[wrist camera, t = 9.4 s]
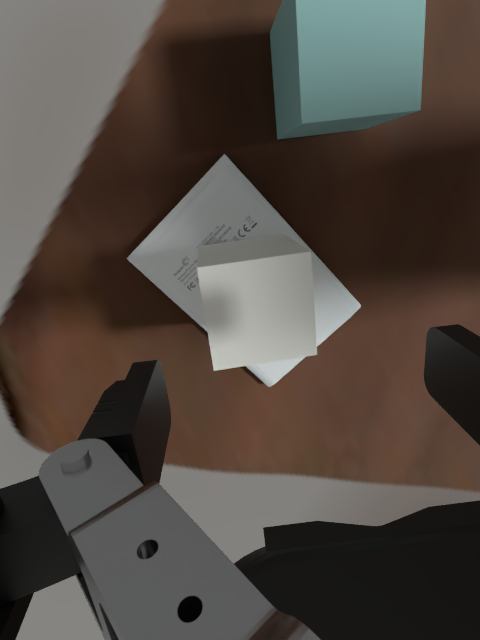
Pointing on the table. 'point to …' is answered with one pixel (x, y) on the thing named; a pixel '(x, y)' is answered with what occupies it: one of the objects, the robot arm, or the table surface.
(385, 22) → the teal block
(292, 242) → the white block
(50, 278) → the table surface
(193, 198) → the external hard drive
